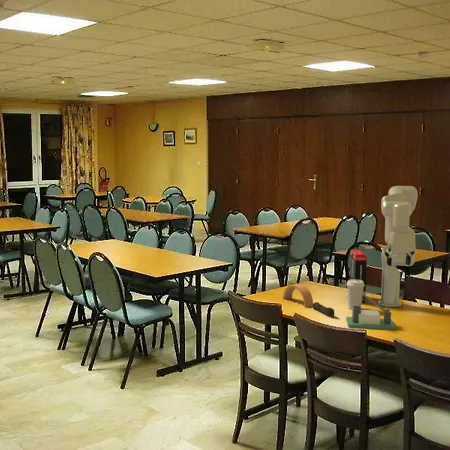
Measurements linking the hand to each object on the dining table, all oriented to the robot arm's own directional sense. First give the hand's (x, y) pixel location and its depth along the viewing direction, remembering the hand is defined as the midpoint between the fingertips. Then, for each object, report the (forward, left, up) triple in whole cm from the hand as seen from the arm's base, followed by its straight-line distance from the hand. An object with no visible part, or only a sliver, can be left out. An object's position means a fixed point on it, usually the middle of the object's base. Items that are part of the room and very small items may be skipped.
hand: (398, 265), depth 289 cm
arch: (-37, -47, -31) cm, 67 cm away
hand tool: (-18, -33, -31) cm, 48 cm away
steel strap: (-2, -10, -20) cm, 23 cm away
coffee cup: (-30, -17, -30) cm, 46 cm away
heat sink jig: (-2, -12, -30) cm, 32 cm away
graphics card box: (-50, -14, -31) cm, 60 cm away
